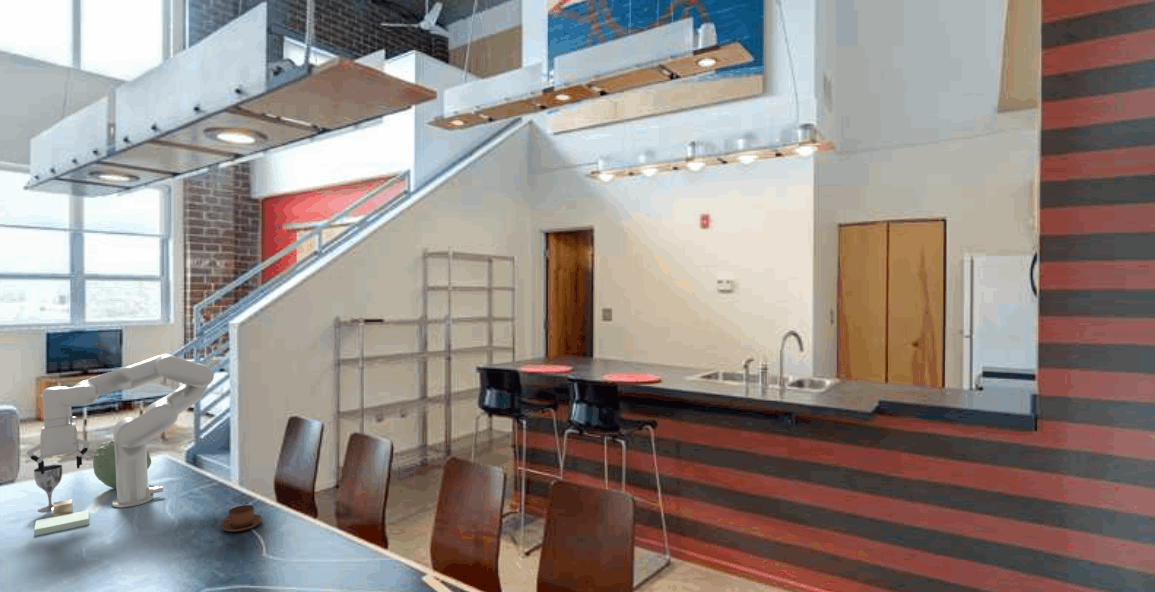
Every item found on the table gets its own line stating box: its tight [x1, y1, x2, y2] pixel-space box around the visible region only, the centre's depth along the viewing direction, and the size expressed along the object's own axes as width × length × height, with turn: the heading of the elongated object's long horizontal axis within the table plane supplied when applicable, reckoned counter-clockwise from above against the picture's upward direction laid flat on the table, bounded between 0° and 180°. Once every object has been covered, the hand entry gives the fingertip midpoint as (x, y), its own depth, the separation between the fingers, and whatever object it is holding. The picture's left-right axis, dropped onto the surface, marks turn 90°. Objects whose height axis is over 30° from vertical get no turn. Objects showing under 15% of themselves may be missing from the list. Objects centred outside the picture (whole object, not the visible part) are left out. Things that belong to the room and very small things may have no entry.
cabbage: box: [91, 439, 152, 489], centre depth 247 cm, size 16×19×20 cm
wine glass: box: [33, 464, 64, 513], centre depth 225 cm, size 8×8×15 cm
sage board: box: [33, 509, 90, 537], centre depth 210 cm, size 14×10×2 cm
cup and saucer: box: [220, 504, 263, 533], centre depth 206 cm, size 12×12×6 cm
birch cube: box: [52, 499, 74, 517], centre depth 218 cm, size 5×5×5 cm
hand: (60, 470), depth 217 cm, fingers open, 9 cm apart
